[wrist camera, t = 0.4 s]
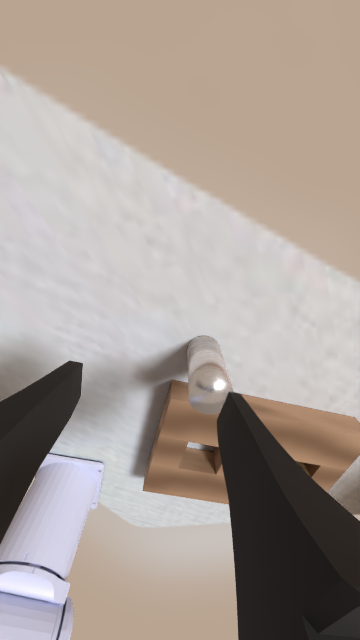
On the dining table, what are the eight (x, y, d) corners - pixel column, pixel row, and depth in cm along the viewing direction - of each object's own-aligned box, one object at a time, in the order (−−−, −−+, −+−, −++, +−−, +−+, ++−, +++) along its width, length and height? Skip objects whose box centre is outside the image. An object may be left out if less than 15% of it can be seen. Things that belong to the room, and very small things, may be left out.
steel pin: (214, 366, 21) (225, 417, 15) (183, 359, 21) (184, 409, 15) (224, 339, 20) (240, 385, 14) (192, 332, 19) (195, 375, 14)
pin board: (295, 493, 29) (305, 516, 27) (146, 468, 27) (142, 490, 25) (355, 417, 23) (373, 438, 21) (172, 379, 22) (171, 398, 19)
